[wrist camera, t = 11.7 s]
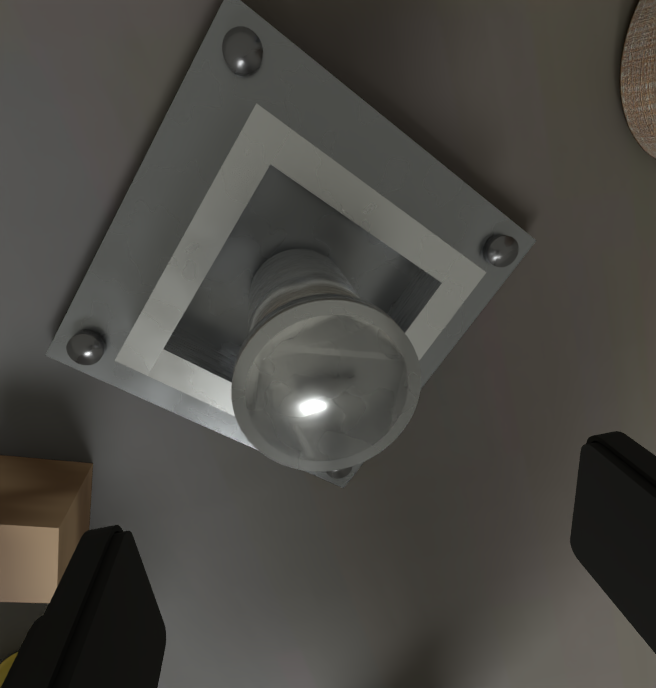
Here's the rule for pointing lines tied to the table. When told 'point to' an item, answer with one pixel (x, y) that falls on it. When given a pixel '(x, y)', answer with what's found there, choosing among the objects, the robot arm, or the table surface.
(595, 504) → the robot arm
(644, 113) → the planter
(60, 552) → the wooden cube
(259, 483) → the table surface
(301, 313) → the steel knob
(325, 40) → the table surface
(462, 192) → the square metal socket
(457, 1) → the table surface
